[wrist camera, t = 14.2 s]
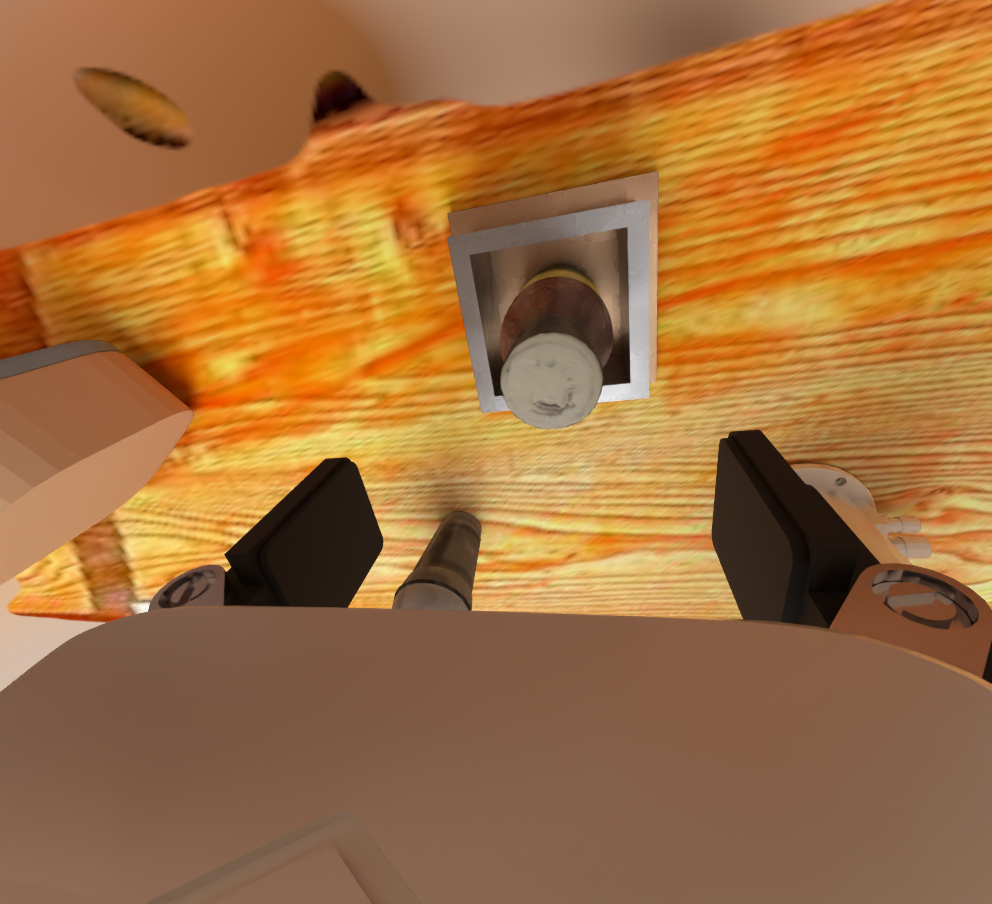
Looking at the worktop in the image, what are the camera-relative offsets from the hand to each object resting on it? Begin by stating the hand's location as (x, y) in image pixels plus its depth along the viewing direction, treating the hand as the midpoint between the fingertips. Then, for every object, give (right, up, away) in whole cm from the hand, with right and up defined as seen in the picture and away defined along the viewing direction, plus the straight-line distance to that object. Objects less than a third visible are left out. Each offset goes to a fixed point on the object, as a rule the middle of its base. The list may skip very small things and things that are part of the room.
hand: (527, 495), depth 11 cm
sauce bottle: (+4, +13, +23) cm, 27 cm away
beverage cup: (-5, -7, +37) cm, 38 cm away
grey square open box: (+4, +13, +24) cm, 28 cm away
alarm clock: (-40, +5, +37) cm, 55 cm away
